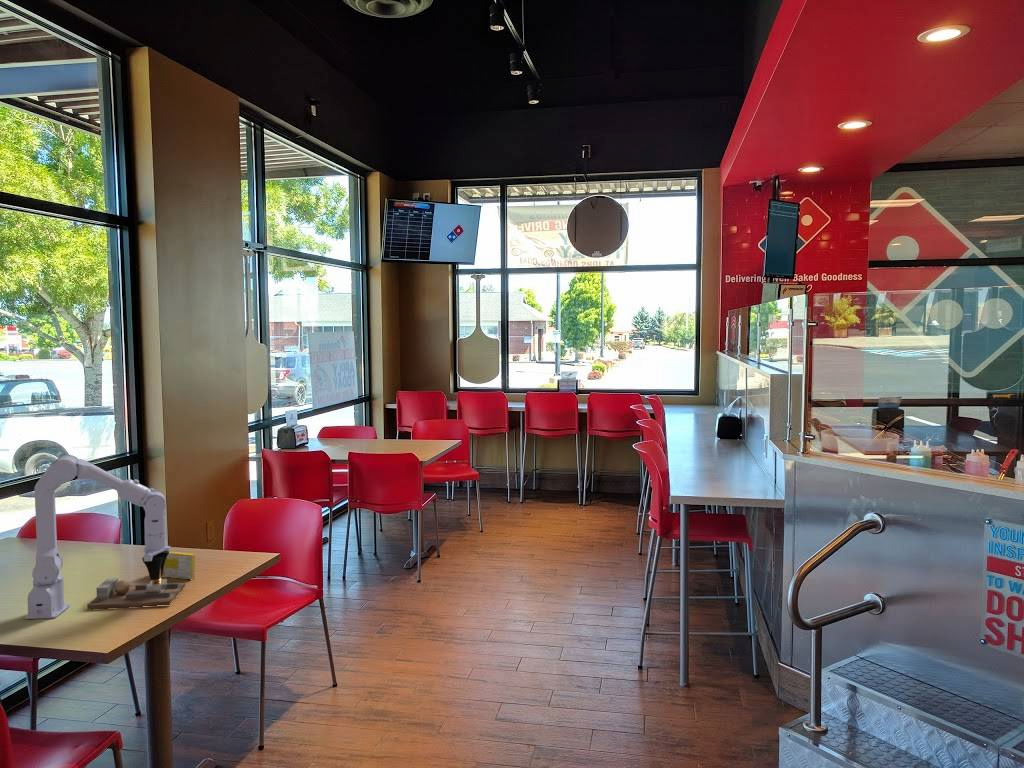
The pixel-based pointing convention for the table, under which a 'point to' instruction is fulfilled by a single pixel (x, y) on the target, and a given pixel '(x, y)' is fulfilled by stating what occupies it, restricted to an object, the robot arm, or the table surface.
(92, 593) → the table surface
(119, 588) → the tan oval solid
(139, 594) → the press bench
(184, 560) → the candy box
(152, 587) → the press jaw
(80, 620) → the table surface
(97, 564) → the table surface
